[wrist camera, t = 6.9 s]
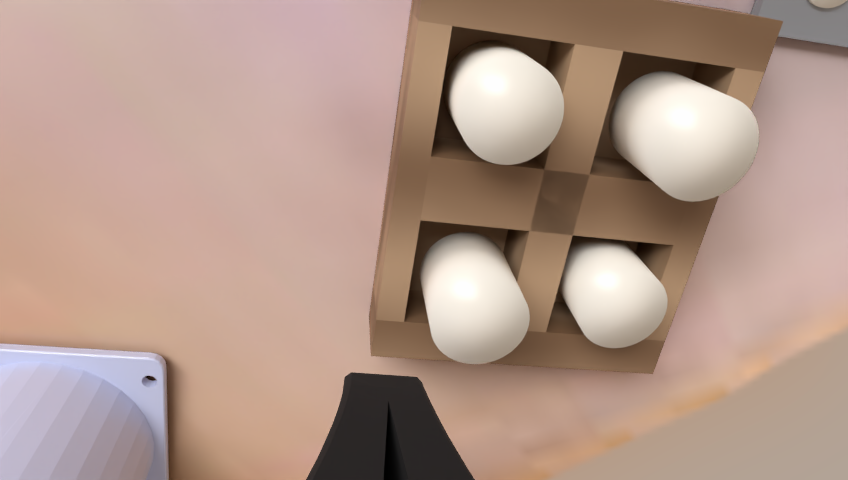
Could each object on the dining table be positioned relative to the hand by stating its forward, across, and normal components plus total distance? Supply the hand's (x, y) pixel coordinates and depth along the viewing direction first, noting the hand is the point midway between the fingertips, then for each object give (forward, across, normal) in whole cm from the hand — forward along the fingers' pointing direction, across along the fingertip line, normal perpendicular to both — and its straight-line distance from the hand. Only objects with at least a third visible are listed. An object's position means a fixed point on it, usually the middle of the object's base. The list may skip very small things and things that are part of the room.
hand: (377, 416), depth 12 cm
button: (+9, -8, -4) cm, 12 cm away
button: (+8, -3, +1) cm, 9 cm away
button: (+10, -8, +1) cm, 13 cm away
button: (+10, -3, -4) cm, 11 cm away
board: (+10, -5, -1) cm, 12 cm away
